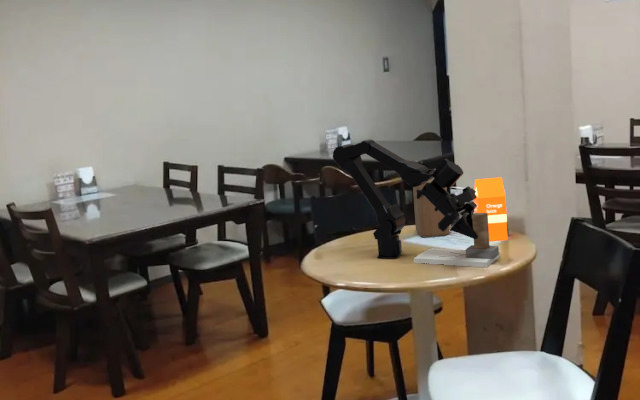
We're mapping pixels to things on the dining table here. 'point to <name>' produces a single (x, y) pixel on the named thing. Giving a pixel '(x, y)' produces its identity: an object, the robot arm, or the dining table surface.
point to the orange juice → (492, 206)
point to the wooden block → (427, 215)
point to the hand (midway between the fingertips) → (478, 236)
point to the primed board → (451, 258)
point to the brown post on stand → (481, 239)
